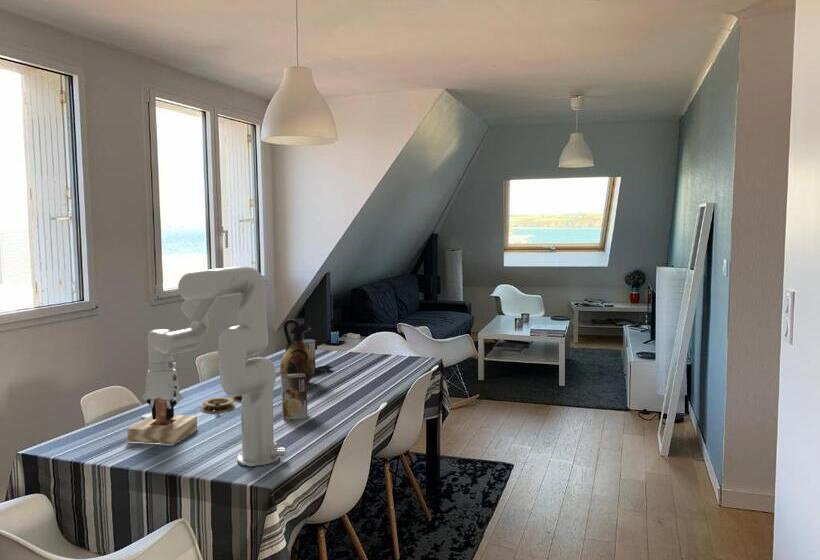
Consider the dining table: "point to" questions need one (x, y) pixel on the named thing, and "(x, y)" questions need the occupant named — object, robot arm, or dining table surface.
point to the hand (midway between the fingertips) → (163, 418)
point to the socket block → (162, 430)
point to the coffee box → (294, 396)
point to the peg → (161, 412)
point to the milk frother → (311, 347)
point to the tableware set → (219, 404)
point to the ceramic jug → (297, 352)
